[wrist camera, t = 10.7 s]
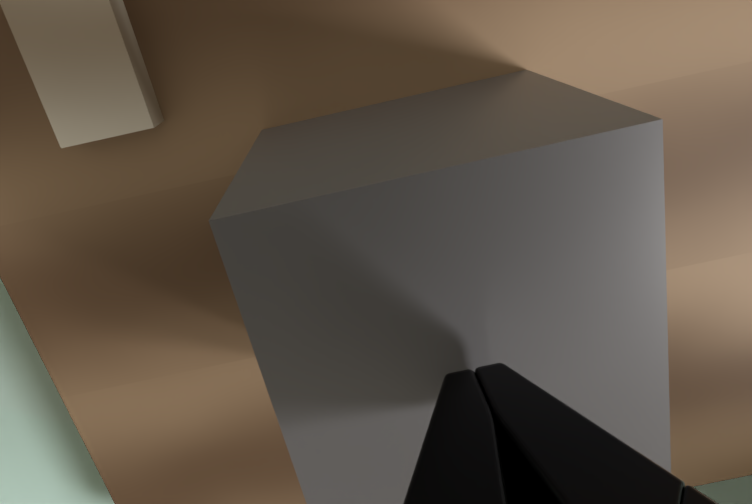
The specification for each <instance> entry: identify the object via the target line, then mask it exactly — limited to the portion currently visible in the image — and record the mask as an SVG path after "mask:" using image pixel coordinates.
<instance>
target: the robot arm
mask: <svg viewBox="0 0 752 504" xmlns="http://www.w3.org/2000/svg"><path fill="white" fill-rule="evenodd" d="M403 504H718V503H716V502H715V501H713V500H712V499H710V498H709V497H707V496H706V495H704V494H703V493H701V492H699V491H698V490H696V489H695V488H693V487H692V486H690V485H687V486H685V483H684V482H683V481H682V480H681V479H679V478H678V477H676V476H675V475H673V474H672V473H670V472H669V471H667V470H665V469H664V468H662V467H661V466H659V465H658V464H656V463H655V462H653V461H652V460H650V459H649V458H647V457H646V456H644V455H643V454H641V453H640V452H638V451H636V450H635V449H633V448H632V447H630V446H629V445H627V444H626V443H624V442H623V441H621V440H620V439H618V438H617V437H615V436H614V435H612V434H611V433H609V432H607V431H606V430H604V429H603V428H601V427H600V426H598V425H597V424H595V423H594V422H592V421H591V420H589V419H588V418H586V417H585V416H583V415H582V414H580V413H578V412H577V411H575V410H574V409H572V408H571V407H569V406H568V405H566V404H565V403H563V402H562V401H560V400H559V399H557V398H556V397H554V396H553V395H551V394H549V393H548V392H546V391H545V390H543V389H542V388H540V387H539V386H537V385H536V384H534V383H533V382H531V381H530V380H528V379H527V378H525V377H524V376H522V375H520V374H519V373H517V372H516V371H514V370H513V369H511V368H510V367H508V366H507V365H505V364H503V363H495V364H490V365H486V366H481V367H477V368H476V369H475V372H474V371H473V370H471V369H466V370H462V371H457V372H452V373H448V374H446V375H445V377H444V379H443V383H442V386H441V389H440V392H439V395H438V398H437V401H436V404H435V407H434V410H433V413H432V416H431V419H430V423H429V426H428V429H427V432H426V435H425V438H424V441H423V444H422V447H421V450H420V453H419V456H418V459H417V463H416V466H415V469H414V472H413V475H412V478H411V481H410V484H409V487H408V490H407V493H406V496H405V499H404V503H403Z"/></svg>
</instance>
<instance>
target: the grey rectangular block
mask: <svg viewBox="0 0 752 504" xmlns="http://www.w3.org/2000/svg"><path fill="white" fill-rule="evenodd" d="M209 223H210V226H211V229H212V232H213V235H214V238H215V241H216V244H217V247H218V249H219V252H220V255H221V258H222V261H223V264H224V267H225V270H226V273H227V275H228V278H229V281H230V284H231V287H232V290H233V293H234V296H235V299H236V301H237V304H238V307H239V310H240V313H241V316H242V319H243V322H244V325H245V327H246V330H247V333H248V336H249V339H250V342H251V345H252V348H253V351H254V353H255V356H256V359H257V362H258V365H259V368H260V371H261V374H262V376H263V379H264V382H265V385H266V388H267V391H268V394H269V397H270V400H271V402H272V405H273V408H274V411H275V414H276V417H277V420H278V423H279V426H280V428H281V431H282V434H283V437H284V440H285V443H286V446H287V449H288V452H289V454H290V457H291V460H292V463H293V466H294V469H295V472H296V475H297V478H298V480H299V483H300V486H301V489H302V492H303V495H304V498H305V501H306V504H403V503H404V499H405V496H406V493H407V490H408V487H409V484H410V481H411V478H412V475H413V472H414V469H415V466H416V463H417V459H418V456H419V453H420V450H421V447H422V444H423V441H424V438H425V435H426V432H427V429H428V426H429V423H430V419H431V416H432V413H433V410H434V407H435V404H436V401H437V398H438V395H439V392H440V389H441V386H442V383H443V379H444V377H445V375H446V374H448V373H452V372H457V371H462V370H466V369H471V370H473V371H474V372H475V369H476V368H477V367H481V366H486V365H490V364H495V363H503V364H505V365H507V366H508V367H510V368H511V369H513V370H514V371H516V372H517V373H519V374H520V375H522V376H524V377H525V378H527V379H528V380H530V381H531V382H533V383H534V384H536V385H537V386H539V387H540V388H542V389H543V390H545V391H546V392H548V393H549V394H551V395H553V396H554V397H556V398H557V399H559V400H560V401H562V402H563V403H565V404H566V405H568V406H569V407H571V408H572V409H574V410H575V411H577V412H578V413H580V414H582V415H583V416H585V417H586V418H588V419H589V420H591V421H592V422H594V423H595V424H597V425H598V426H600V427H601V428H603V429H604V430H606V431H607V432H609V433H611V434H612V435H614V436H615V437H617V438H618V439H620V440H621V441H623V442H624V443H626V444H627V445H629V446H630V447H632V448H633V449H635V450H636V451H638V452H640V453H641V454H643V455H644V456H646V457H647V458H649V459H650V460H652V461H653V462H655V463H656V464H658V465H659V466H661V467H662V468H664V469H665V470H667V471H669V472H670V473H671V448H670V406H669V364H668V322H667V280H666V237H665V195H664V153H663V119H661V118H658V117H655V116H653V115H650V114H647V113H645V112H642V111H639V110H636V109H634V108H631V107H628V106H625V105H623V104H620V103H617V102H614V101H612V100H609V99H606V98H603V97H601V96H598V95H595V94H592V93H590V92H587V91H584V90H582V89H579V88H576V87H573V86H571V85H568V84H565V83H562V82H560V81H557V80H554V79H551V78H549V77H546V76H543V75H540V74H538V73H535V72H532V71H529V70H522V71H518V72H513V73H509V74H505V75H500V76H496V77H491V78H487V79H483V80H478V81H474V82H470V83H465V84H461V85H456V86H452V87H448V88H443V89H439V90H434V91H430V92H426V93H421V94H417V95H412V96H408V97H404V98H399V99H395V100H391V101H386V102H382V103H377V104H373V105H369V106H364V107H360V108H355V109H351V110H347V111H342V112H338V113H333V114H329V115H325V116H320V117H316V118H312V119H307V120H303V121H298V122H294V123H290V124H285V125H281V126H276V127H272V128H268V129H263V130H261V132H260V134H259V136H258V137H257V139H256V141H255V142H254V144H253V146H252V148H251V149H250V151H249V153H248V154H247V156H246V158H245V159H244V161H243V163H242V165H241V166H240V168H239V170H238V171H237V173H236V175H235V177H234V178H233V180H232V182H231V183H230V185H229V187H228V189H227V190H226V192H225V194H224V195H223V197H222V199H221V201H220V202H219V204H218V206H217V207H216V209H215V211H214V213H213V214H212V216H211V218H210V219H209Z"/></svg>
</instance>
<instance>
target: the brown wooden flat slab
mask: <svg viewBox="0 0 752 504" xmlns="http://www.w3.org/2000/svg"><path fill="white" fill-rule="evenodd" d="M522 70H529V71H532V72H535V73H538V74H540V75H543V76H546V77H549V78H551V79H554V80H557V81H560V82H562V83H565V84H568V85H571V86H573V87H576V88H579V89H582V90H584V91H587V92H590V93H592V94H595V95H598V96H601V97H603V98H606V99H609V100H612V101H614V102H617V103H620V104H623V105H625V106H628V107H631V108H634V109H636V110H639V111H642V112H645V113H647V114H650V115H653V116H655V117H658V118H661V119H663V153H664V195H665V237H666V280H667V322H668V364H669V406H670V448H671V473H672V474H673V475H675V476H676V477H678V478H679V479H681V480H682V481H683V482H684V483H685V486H687V485H690V486H692V487H694V486H699V485H704V484H708V483H713V482H718V481H723V480H728V479H733V478H738V477H743V476H748V475H752V0H0V278H1V280H2V282H3V283H4V285H5V287H6V289H7V291H8V293H9V295H10V297H11V299H12V301H13V303H14V305H15V307H16V309H17V311H18V313H19V315H20V317H21V319H22V321H23V323H24V325H25V327H26V329H27V331H28V333H29V335H30V337H31V339H32V341H33V343H34V345H35V347H36V349H37V351H38V353H39V355H40V357H41V359H42V361H43V363H44V365H45V367H46V368H47V370H48V372H49V374H50V376H51V378H52V380H53V382H54V384H55V386H56V388H57V390H58V392H59V394H60V396H61V398H62V400H63V402H64V404H65V406H66V408H67V410H68V412H69V414H70V416H71V418H72V420H73V422H74V424H75V426H76V428H77V430H78V432H79V434H80V436H81V438H82V440H83V442H84V444H85V446H86V448H87V450H88V452H89V453H90V455H91V457H92V459H93V461H94V463H95V465H96V467H97V469H98V471H99V473H100V475H101V477H102V479H103V481H104V483H105V485H106V487H107V489H108V491H109V493H110V495H111V497H112V499H113V501H114V503H115V504H306V501H305V498H304V495H303V492H302V489H301V486H300V483H299V480H298V478H297V475H296V472H295V469H294V466H293V463H292V460H291V457H290V454H289V452H288V449H287V446H286V443H285V440H284V437H283V434H282V431H281V428H280V426H279V423H278V420H277V417H276V414H275V411H274V408H273V405H272V402H271V400H270V397H269V394H268V391H267V388H266V385H265V382H264V379H263V376H262V374H261V371H260V368H259V365H258V362H257V359H256V356H255V353H254V351H253V348H252V345H251V342H250V339H249V336H248V333H247V330H246V327H245V325H244V322H243V319H242V316H241V313H240V310H239V307H238V304H237V301H236V299H235V296H234V293H233V290H232V287H231V284H230V281H229V278H228V275H227V273H226V270H225V267H224V264H223V261H222V258H221V255H220V252H219V249H218V247H217V244H216V241H215V238H214V235H213V232H212V229H211V226H210V223H209V219H210V218H211V216H212V214H213V213H214V211H215V209H216V207H217V206H218V204H219V202H220V201H221V199H222V197H223V195H224V194H225V192H226V190H227V189H228V187H229V185H230V183H231V182H232V180H233V178H234V177H235V175H236V173H237V171H238V170H239V168H240V166H241V165H242V163H243V161H244V159H245V158H246V156H247V154H248V153H249V151H250V149H251V148H252V146H253V144H254V142H255V141H256V139H257V137H258V136H259V134H260V132H261V130H263V129H268V128H272V127H276V126H281V125H285V124H290V123H294V122H298V121H303V120H307V119H312V118H316V117H320V116H325V115H329V114H333V113H338V112H342V111H347V110H351V109H355V108H360V107H364V106H369V105H373V104H377V103H382V102H386V101H391V100H395V99H399V98H404V97H408V96H412V95H417V94H421V93H426V92H430V91H434V90H439V89H443V88H448V87H452V86H456V85H461V84H465V83H470V82H474V81H478V80H483V79H487V78H491V77H496V76H500V75H505V74H509V73H513V72H518V71H522Z"/></svg>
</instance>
